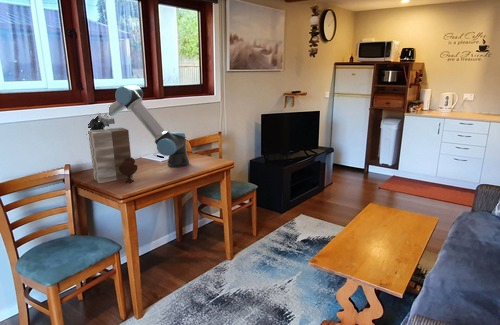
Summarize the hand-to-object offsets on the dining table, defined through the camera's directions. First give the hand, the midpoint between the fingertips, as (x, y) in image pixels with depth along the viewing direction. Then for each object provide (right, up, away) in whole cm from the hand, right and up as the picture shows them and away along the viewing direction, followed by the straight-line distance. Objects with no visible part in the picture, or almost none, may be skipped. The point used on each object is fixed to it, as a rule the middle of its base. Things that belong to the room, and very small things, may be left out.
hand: (103, 114), depth 210 cm
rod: (+2, -5, -1) cm, 5 cm away
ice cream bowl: (+17, -41, -4) cm, 45 cm away
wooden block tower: (+5, -39, +4) cm, 39 cm away
